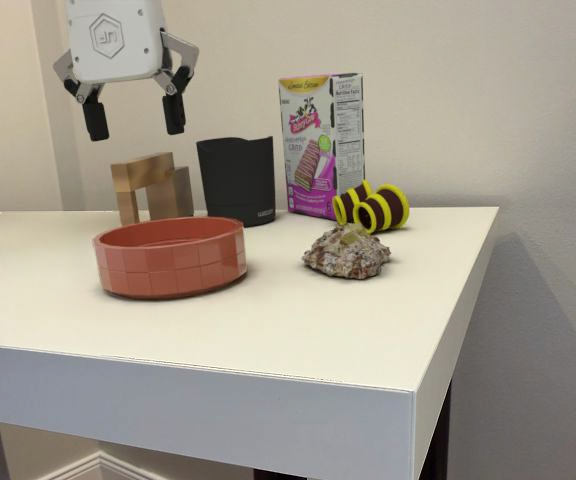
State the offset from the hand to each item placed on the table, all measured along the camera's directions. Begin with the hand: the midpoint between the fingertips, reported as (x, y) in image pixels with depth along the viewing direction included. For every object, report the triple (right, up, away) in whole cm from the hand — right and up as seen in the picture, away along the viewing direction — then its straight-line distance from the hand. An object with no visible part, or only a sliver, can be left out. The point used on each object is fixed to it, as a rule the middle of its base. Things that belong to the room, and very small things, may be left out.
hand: (137, 137), depth 75 cm
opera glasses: (+26, -10, +1) cm, 28 cm away
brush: (+1, -9, +7) cm, 12 cm away
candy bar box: (+22, -6, +10) cm, 25 cm away
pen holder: (+11, -7, +10) cm, 17 cm away
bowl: (+7, -19, -15) cm, 25 cm away
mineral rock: (+23, -17, -14) cm, 32 cm away
